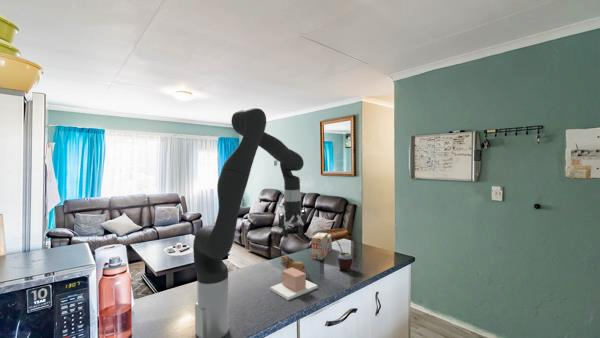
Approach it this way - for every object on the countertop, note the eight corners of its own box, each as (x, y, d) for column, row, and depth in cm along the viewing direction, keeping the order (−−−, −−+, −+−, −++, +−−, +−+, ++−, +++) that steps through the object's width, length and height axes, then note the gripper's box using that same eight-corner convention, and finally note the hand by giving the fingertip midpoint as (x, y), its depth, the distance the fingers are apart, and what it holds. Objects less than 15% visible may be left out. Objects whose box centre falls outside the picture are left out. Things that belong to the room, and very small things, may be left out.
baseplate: (288, 300, 104) (288, 297, 104) (270, 289, 113) (270, 287, 113) (317, 288, 114) (317, 285, 114) (299, 279, 123) (299, 276, 123)
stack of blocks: (322, 248, 171) (322, 228, 171) (332, 249, 168) (331, 229, 168) (311, 258, 151) (311, 237, 151) (322, 260, 149) (321, 238, 148)
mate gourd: (355, 272, 131) (354, 241, 131) (340, 273, 129) (340, 243, 129) (348, 266, 139) (348, 237, 138) (334, 268, 136) (333, 239, 136)
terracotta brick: (295, 291, 108) (295, 277, 108) (282, 284, 115) (282, 270, 115) (305, 287, 112) (305, 273, 112) (292, 280, 119) (292, 267, 119)
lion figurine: (279, 275, 127) (278, 257, 127) (282, 271, 133) (282, 253, 132) (308, 279, 123) (308, 259, 123) (311, 274, 129) (311, 256, 128)
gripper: (284, 202, 112) (285, 240, 113) (309, 198, 121) (310, 234, 122) (274, 200, 118) (275, 236, 119) (299, 197, 127) (300, 231, 128)
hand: (293, 235), depth 120 cm, fingers open, 8 cm apart
